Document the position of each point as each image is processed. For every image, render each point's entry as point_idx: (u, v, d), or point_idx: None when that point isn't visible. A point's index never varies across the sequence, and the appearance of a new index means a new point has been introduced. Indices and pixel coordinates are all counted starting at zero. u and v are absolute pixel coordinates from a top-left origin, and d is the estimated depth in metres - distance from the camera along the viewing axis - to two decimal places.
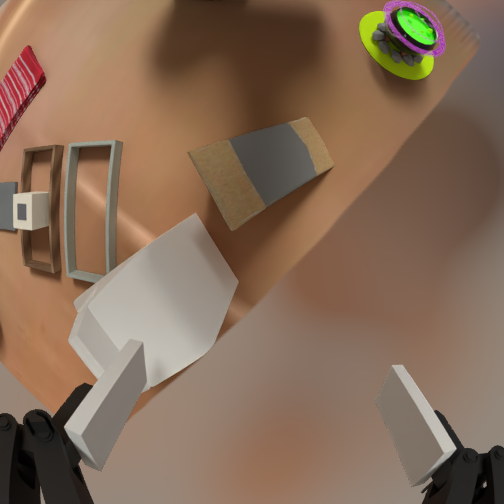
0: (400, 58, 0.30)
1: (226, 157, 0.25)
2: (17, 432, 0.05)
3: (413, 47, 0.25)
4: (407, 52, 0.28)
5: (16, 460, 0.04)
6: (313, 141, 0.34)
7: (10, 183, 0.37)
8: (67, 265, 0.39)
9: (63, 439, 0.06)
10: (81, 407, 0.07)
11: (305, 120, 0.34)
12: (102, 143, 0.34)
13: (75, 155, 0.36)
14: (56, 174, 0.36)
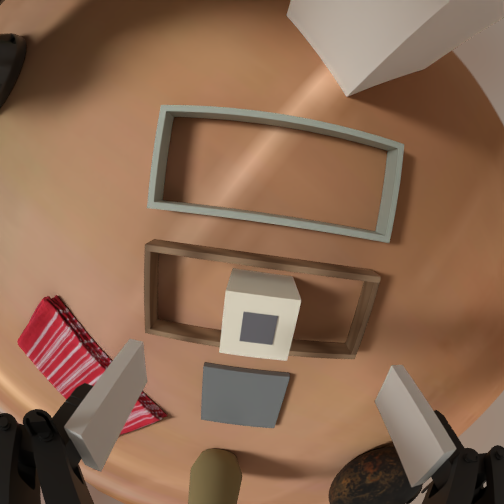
0: None
1: None
2: (17, 432, 0.05)
3: None
4: None
5: (16, 460, 0.04)
6: None
7: (204, 378, 0.30)
8: (371, 235, 0.23)
9: (63, 439, 0.06)
10: (81, 407, 0.07)
11: None
12: (160, 129, 0.22)
13: (172, 202, 0.25)
14: (200, 249, 0.25)
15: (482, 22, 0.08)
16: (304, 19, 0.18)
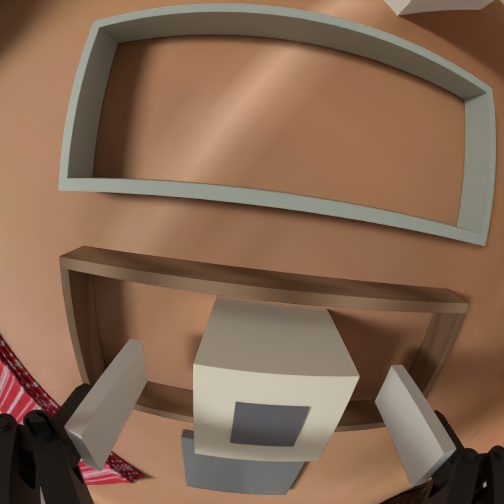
0: None
1: None
2: (17, 432, 0.05)
3: None
4: None
5: (16, 460, 0.04)
6: None
7: (185, 449, 0.17)
8: (464, 233, 0.11)
9: (63, 439, 0.06)
10: (81, 407, 0.07)
11: None
12: (87, 54, 0.09)
13: None
14: (151, 263, 0.13)
15: None
16: None
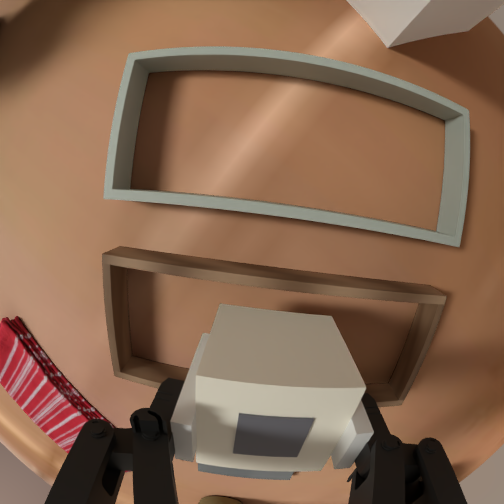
0: None
1: None
2: (112, 441, 0.06)
3: None
4: None
5: (103, 469, 0.05)
6: None
7: None
8: (438, 236, 0.14)
9: (168, 439, 0.08)
10: (181, 399, 0.09)
11: None
12: (125, 84, 0.13)
13: None
14: (183, 260, 0.16)
15: None
16: None
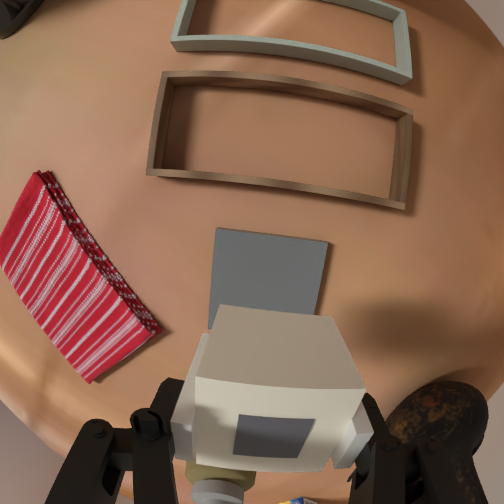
0: None
1: None
2: (112, 441, 0.06)
3: None
4: None
5: (103, 469, 0.05)
6: None
7: (216, 250, 0.24)
8: (393, 68, 0.18)
9: (168, 439, 0.08)
10: (181, 400, 0.09)
11: None
12: None
13: None
14: None
15: None
16: None
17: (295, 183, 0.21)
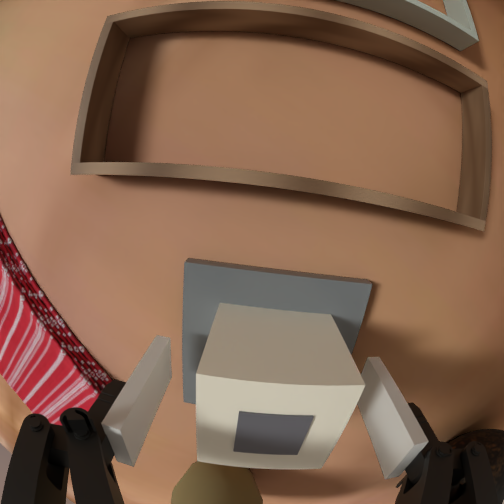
0: None
1: None
2: (49, 434, 0.06)
3: None
4: None
5: (46, 462, 0.05)
6: None
7: (187, 296, 0.14)
8: (455, 22, 0.08)
9: (100, 437, 0.07)
10: (117, 403, 0.08)
11: None
12: None
13: None
14: None
15: None
16: None
17: (327, 183, 0.11)
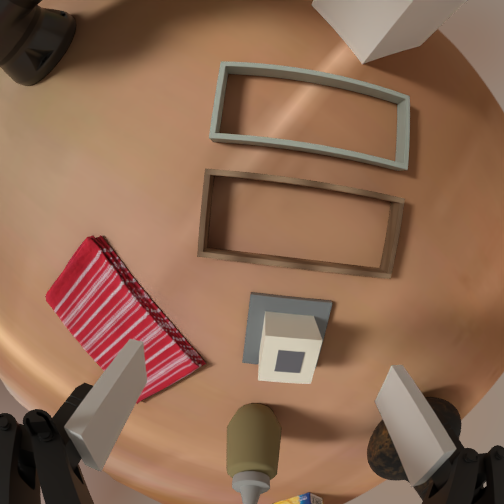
0: None
1: None
2: (17, 432, 0.05)
3: None
4: None
5: (16, 460, 0.04)
6: None
7: (250, 309, 0.33)
8: (393, 162, 0.27)
9: (63, 439, 0.06)
10: (81, 407, 0.07)
11: None
12: (221, 78, 0.26)
13: None
14: None
15: (455, 1, 0.11)
16: (327, 7, 0.22)
17: (310, 265, 0.30)
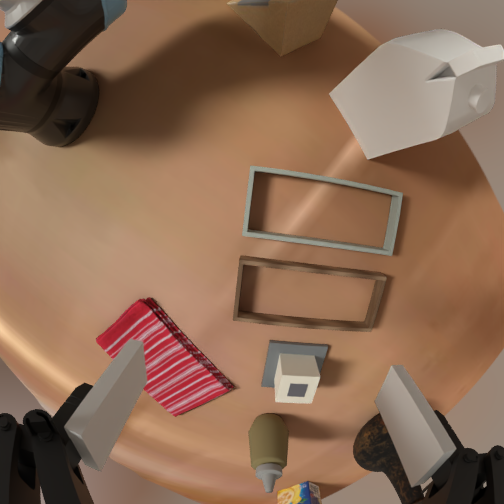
0: None
1: None
2: (17, 432, 0.05)
3: None
4: None
5: (16, 460, 0.04)
6: None
7: (269, 351, 0.44)
8: (381, 251, 0.38)
9: (63, 439, 0.06)
10: (81, 407, 0.07)
11: (230, 2, 0.30)
12: (251, 183, 0.36)
13: (257, 231, 0.39)
14: (275, 262, 0.40)
15: None
16: (343, 104, 0.33)
17: (313, 325, 0.41)
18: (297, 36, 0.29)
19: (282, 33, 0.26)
